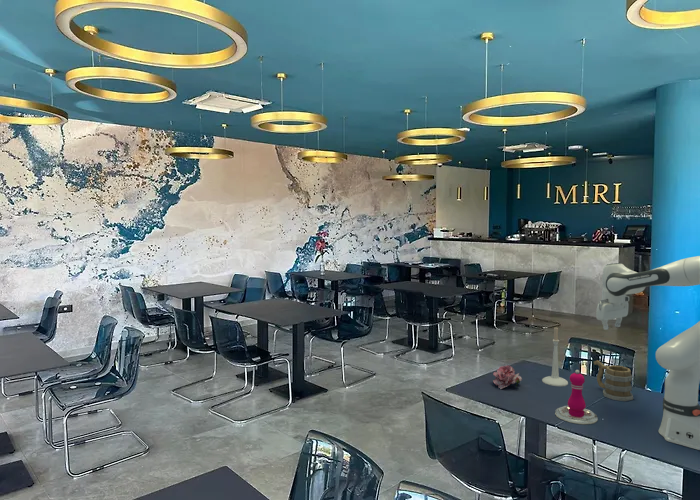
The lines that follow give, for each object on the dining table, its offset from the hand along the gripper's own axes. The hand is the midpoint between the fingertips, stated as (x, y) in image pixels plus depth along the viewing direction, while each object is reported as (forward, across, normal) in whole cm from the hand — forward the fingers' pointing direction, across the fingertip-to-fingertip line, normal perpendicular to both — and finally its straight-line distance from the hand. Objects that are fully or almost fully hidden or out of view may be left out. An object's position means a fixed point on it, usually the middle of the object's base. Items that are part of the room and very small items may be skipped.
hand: (611, 328), depth 223 cm
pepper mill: (+36, -23, +2) cm, 43 cm away
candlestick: (+37, +9, +35) cm, 52 cm away
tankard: (+37, +17, +9) cm, 42 cm away
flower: (+37, -17, +45) cm, 61 cm away
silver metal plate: (+37, -23, +2) cm, 44 cm away
